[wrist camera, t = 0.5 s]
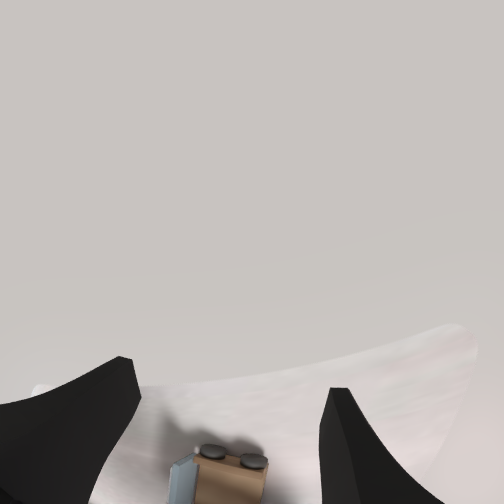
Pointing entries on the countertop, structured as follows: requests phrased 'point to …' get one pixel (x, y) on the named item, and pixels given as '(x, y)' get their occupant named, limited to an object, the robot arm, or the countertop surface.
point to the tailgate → (182, 481)
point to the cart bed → (229, 477)
